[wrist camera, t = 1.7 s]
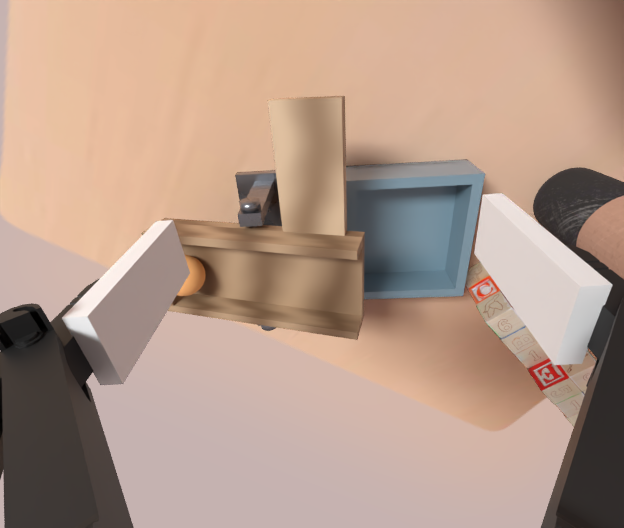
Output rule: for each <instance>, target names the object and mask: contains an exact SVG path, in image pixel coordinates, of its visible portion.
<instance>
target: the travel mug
mask: <svg viewBox="0 0 624 528" xmlns="http://www.w3.org/2000/svg"><path fill="white" fill-rule="evenodd" d="M533 210H534V214H535V217H536V219H537V220H538V221H539V223H540V224H541V225H542V226H543V227H544V228H546V229H547V230H548V231H549V232H550V233H551V234H552V235H553V236H554V237H556V238H557V239H558V240H559V241H560V242H562V243H563V244H564V245H574V246H576V247H579V248H581V249H583V250H585V251H588V252H589V253H591V254H592V255H593V256H595V257H596V258H597V259H598V260H600V262H602V263H603V264H605V265H606V266H607V267H609V269H611V270H612V271H614V272H615V273H616V274H618V275H619V276H620V277H621V278H623V279H624V182H622V181H619V180H617V179H614V178H612V177H609V176H606V175H604V174H601V173H599V172H596V171H593V170H590V169H587V168H571V169H567V170H564V171H561V172H559V173H557V174H556V175H554V176H552V177H551V178H550V179H548V180H547V181H546V182H545V183H544V184H543V186H542V187H541V188H540V189H539V191H538V193H537V195H536V197H535V200H534V205H533Z"/></svg>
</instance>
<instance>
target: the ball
mask: <svg viewBox="0 0 624 528" xmlns="http://www.w3.org/2000/svg"><path fill="white" fill-rule="evenodd" d="M185 258H186V261H187V265H188V268H189V271H190V274H189V276H188V278H187V279H186V281H185V282H184V284H183V286H182V287H181V289H180V291H179V292H178V294H177V295H178V296H189V295H192V294H194V293H196V292H197V291H198V290H199V289H200V288H201V287H202V286H203V284H204V281H205V276H206V275H205V269H204V267H203V265H202V263H201V262H200V261H199V260H198V259H196V258H195V257H193V256H190V255H185Z"/></svg>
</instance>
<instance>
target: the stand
mask: <svg viewBox="0 0 624 528" xmlns="http://www.w3.org/2000/svg"><path fill="white" fill-rule="evenodd" d="M235 176H236V182H237V188H238V194H239V199H240V201H239V203H240V211H239V213H238V219H239V225H240V227H250V226H263V225H270V226H282V220H281V212H280V203H279V195H278V186H277V178H276V170H272V171H254V172H237V173H236V175H235ZM258 326H261V327H262V329H263V330H267V331H270V330H273V329H275V328H276V327H270V326H264V325H258Z"/></svg>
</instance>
